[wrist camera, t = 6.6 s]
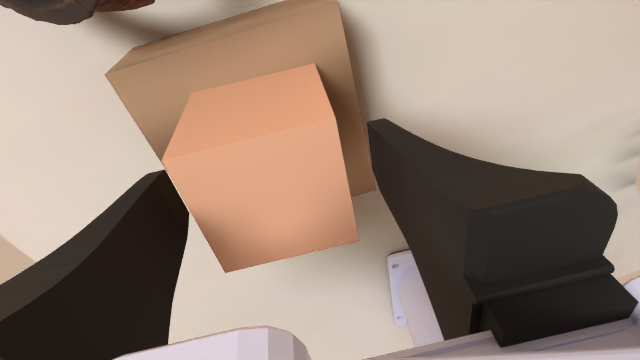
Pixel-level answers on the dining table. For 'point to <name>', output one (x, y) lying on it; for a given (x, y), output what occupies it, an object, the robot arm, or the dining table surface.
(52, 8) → the pottery mug
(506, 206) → the robot arm
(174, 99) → the light tan wooden block
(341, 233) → the terracotta block
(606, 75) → the dining table surface
